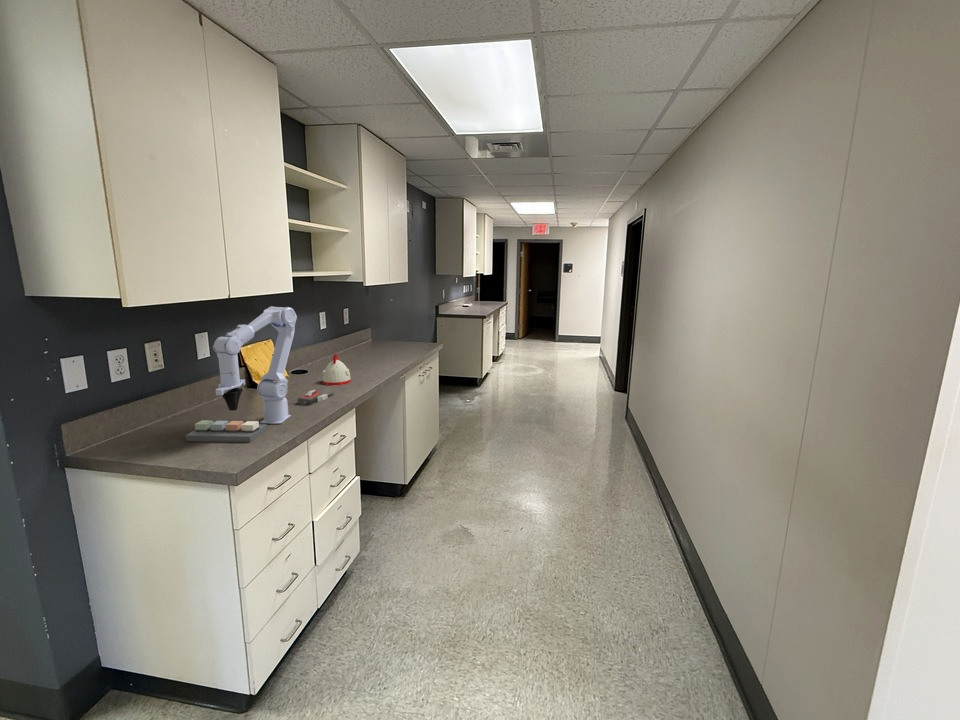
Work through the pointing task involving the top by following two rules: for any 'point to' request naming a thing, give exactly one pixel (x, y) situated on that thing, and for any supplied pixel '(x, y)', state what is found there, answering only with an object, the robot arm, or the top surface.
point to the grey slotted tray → (226, 435)
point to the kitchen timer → (336, 373)
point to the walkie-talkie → (313, 397)
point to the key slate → (219, 426)
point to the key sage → (203, 426)
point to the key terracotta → (234, 426)
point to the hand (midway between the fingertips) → (233, 409)
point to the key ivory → (250, 426)
